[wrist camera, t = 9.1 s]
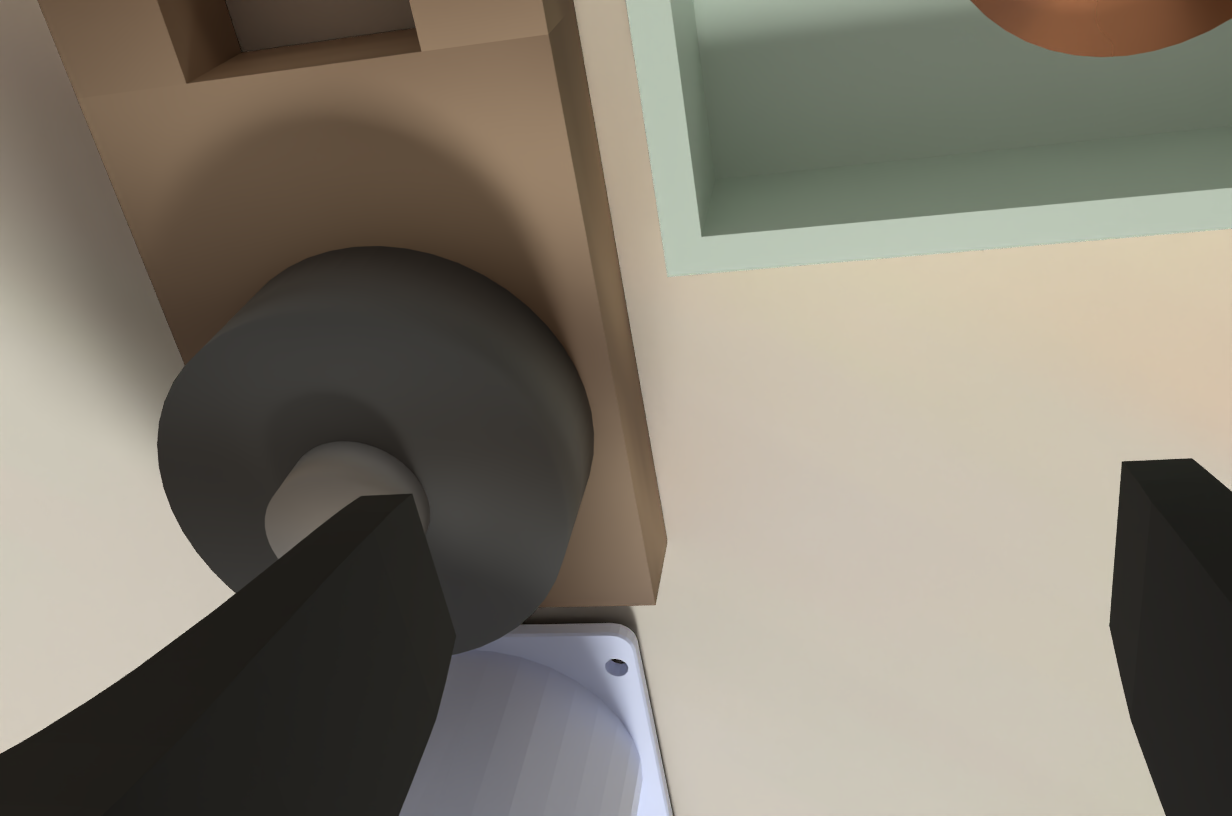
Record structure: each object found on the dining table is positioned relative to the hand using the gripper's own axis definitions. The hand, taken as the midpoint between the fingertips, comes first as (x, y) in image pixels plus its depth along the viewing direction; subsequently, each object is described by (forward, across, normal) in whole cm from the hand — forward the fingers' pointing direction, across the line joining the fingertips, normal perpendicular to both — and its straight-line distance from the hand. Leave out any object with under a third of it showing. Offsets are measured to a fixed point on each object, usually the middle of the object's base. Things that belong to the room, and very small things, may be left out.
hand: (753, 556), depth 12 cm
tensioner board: (+9, +7, -2) cm, 12 cm away
